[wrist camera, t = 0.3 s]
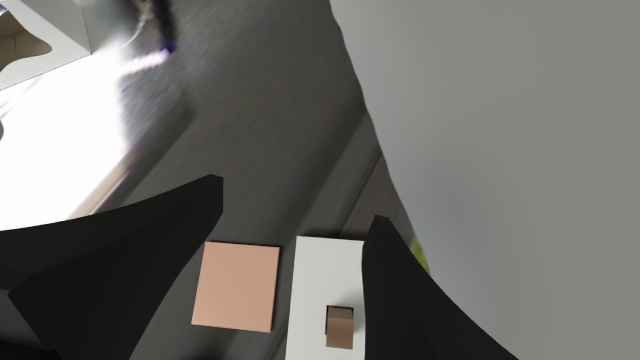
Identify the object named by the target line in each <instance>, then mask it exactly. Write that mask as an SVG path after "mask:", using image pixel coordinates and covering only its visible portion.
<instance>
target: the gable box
mask: <svg viewBox="0 0 640 360" xmlns="http://www.w3.org/2000/svg"><path fill="white" fill-rule="evenodd" d="M0 4H2V5H3V6H4V7H6V8H7V9H8V11H6V12H4V13H3V14H2V15H1V16H0V90H3V89H5V88H8V87H10V86H13V85H15V84H18V83H20V82H23V81H25V80H28V79H30V78H33V77H35V76H38V75H40V74H43V73H45V72H48V71H50V70H53V69H55V68H58V67H60V66H63V65H65V64H68V63H70V62H73V61H75V60H78V59H80V58H83V57H85V56H88V55H90V54H91V49H90V44H89V40H88V36H87V31H86V27H85V23H84V18H83V14H82V9H81V7H79V6H78V5H77V4H76V3H75V2H74V1H73V0H0Z"/></svg>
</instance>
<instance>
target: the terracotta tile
mask: <svg viewBox="0 0 640 360" xmlns="http://www.w3.org/2000/svg"><path fill="white" fill-rule="evenodd" d="M279 250H280V248H279V247H266V246H254V245H242V244H230V243H217V242H206V244H205V249H204V255H203V261H202V266H201V272H200V278H199V284H198V289H197V295H196V301H195V306H194V312H193V318H192V324H197V325H206V326H215V327H224V328H234V329H243V330H252V331H261V332H270V331H271V324H272V314H273V305H274V296H275V287H276V277H277V268H278V259H279Z"/></svg>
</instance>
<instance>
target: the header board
mask: <svg viewBox="0 0 640 360" xmlns="http://www.w3.org/2000/svg"><path fill="white" fill-rule="evenodd" d="M363 243H364V241H355V240H342V239H329V238H316V237H303V236H297V242H296V253H295V264H294V274H293V285H292V296H291V306H290V317H289V328H288V338H287V349H286V360H364V359H365V308H364V296H363V283H362V269H361V261H362V246H363ZM327 305H332V306H343V307H352V314H353V318H354V330H353V350H350V349H341V348H332V347H326V337H327V329H326V312H327Z"/></svg>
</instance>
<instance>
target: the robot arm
mask: <svg viewBox="0 0 640 360" xmlns="http://www.w3.org/2000/svg"><path fill="white" fill-rule="evenodd" d="M222 213H223V177H220V176H216V175H212V174H210V175H207V176H204V177H201V178H199V179H196V180H194V181H192V182H189V183H187V184H184V185H182V186H180V187H177V188H175V189H172V190H170V191H167V192H165V193H162V194H159V195H156V196H154V197H151V198H148V199H145V200H143V201H140V202H137V203H133V204H130V205H127V206H124V207H120V208H117V209H113V210H109V211H106V212H101V213H97V214H93V215H88V216H84V217H80V218H75V219H71V220H66V221H60V222H55V223H50V224H44V225H38V226H32V227H25V228H19V229H11V230H3V231H0V360H129V358H130V356H131V355H132V353H133V351H134V349H135V347H136V345H137V344H138V342H139V340H140V338H141V336H142V335H143V333H144V331H145V329H146V327H147V326H148V324H149V322H150V320H151V319H152V317H153V315H154V314H155V312H156V310H157V309H158V307H159V305H160V304H161V302H162V300H163V299H164V297H165V295H166V294H167V292H168V291H169V289H170V287H171V286H172V284H173V283H174V281H175V279H176V278H177V276H178V275H179V274H180V272H181V271H182V269H183V268H184V267H185V265H186V264H187V263H188V262H189V260H190V259H191V258H192V256H193V255H194V254H195V253H196V251H197V250H198V249H199V247H200V246H201V245H202V243H203V242H204V241H205V240H206V238H207V237H208V236H209V234H210V233H211V232H212V230H213V229H214V227H215V225H216V224H217V222H218V220H219V218H220V216H221V215H222ZM361 269H362V283H363V296H364V308H365V359H364V360H519V359H517V358H516V357H515V356H514V355H512V354H511V353H510V352H508V351H507V350H506V349H505V348H503V347H502V346H501V345H500V344H499V343H498V342H496V341H495V340H494V339H493V338H492V337H491V336H489V335H488V334H487V333H486V332H485V331H484V330H482V329H481V328H480V327H479V326H478V325H477V324H476V323H475V322H474V321H472V320H471V319H470V318H469V317H468V316H467V315H466V314H465V313H464V312H463V311H462V310H461V309H460V308H459V307H458V306H457V305H456V304H455V303H454V302H453V301H452V300H451V299H450V298H449V297H448V296H447V295H446V294H445V293H444V292H443V290H442V289H441V288H440V287H439V286H438V285H437V284H436V283H435V282H434V280H433V279H432V278H431V277H430V276H429V274H428V273H427V272H426V271H425V269H424V268H423V267H422V266H421V264H420V263H419V262H418V260H417V259H416V258H415V256H414V255H413V254H412V252H411V251H410V249H409V248H408V246H407V245H406V244H405V242H404V241H403V239H402V238H401V236H400V235H399V233H398V232H397V230H396V228H395V227H394V225H393V224H392V222H391V221H390V219H389V218H387V217H383V216H379V215H375V217H374V220H373V222H372V224H371V227H370V229H369V231H368V234H367V236H366V239H365V241H364V243H363V246H362V261H361Z"/></svg>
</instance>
